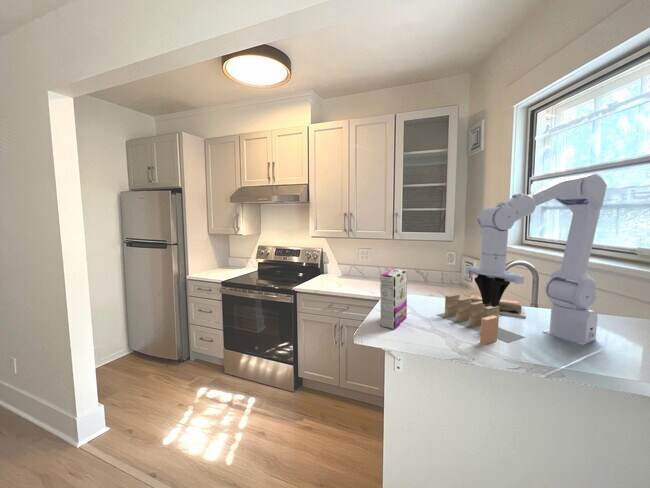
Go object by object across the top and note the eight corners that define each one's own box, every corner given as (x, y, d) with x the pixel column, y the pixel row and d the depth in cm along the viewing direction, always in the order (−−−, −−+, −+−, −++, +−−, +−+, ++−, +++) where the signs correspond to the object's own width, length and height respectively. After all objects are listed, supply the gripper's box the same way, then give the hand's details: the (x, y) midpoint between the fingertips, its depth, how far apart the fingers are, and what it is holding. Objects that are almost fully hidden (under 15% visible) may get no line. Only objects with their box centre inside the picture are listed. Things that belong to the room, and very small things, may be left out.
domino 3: (483, 324, 89) (484, 302, 88) (472, 327, 87) (474, 304, 86) (479, 322, 90) (480, 300, 90) (468, 325, 88) (469, 303, 87)
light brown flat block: (498, 329, 85) (499, 306, 84) (487, 332, 83) (488, 308, 82) (493, 327, 86) (494, 304, 86) (482, 330, 84) (483, 307, 83)
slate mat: (525, 338, 80) (525, 337, 80) (507, 344, 76) (507, 343, 76) (452, 312, 101) (452, 311, 101) (435, 316, 98) (435, 314, 98)
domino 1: (458, 315, 97) (459, 294, 96) (448, 317, 95) (449, 296, 94) (455, 313, 98) (455, 293, 98) (444, 316, 96) (445, 295, 95)
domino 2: (470, 319, 93) (471, 298, 92) (460, 322, 91) (461, 300, 90) (466, 318, 94) (467, 297, 94) (456, 320, 92) (457, 299, 91)
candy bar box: (392, 315, 98) (393, 268, 96) (406, 318, 95) (408, 269, 94) (379, 326, 89) (379, 274, 87) (394, 330, 86) (395, 276, 84)
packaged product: (465, 298, 102) (468, 292, 111) (464, 311, 103) (467, 304, 111) (527, 306, 93) (525, 298, 102) (526, 321, 94) (524, 312, 102)
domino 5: (496, 342, 78) (498, 316, 77) (484, 346, 76) (486, 320, 75) (491, 340, 79) (493, 315, 78) (479, 343, 77) (481, 318, 76)
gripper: (458, 251, 79) (456, 299, 81) (512, 258, 67) (509, 316, 68) (475, 250, 83) (473, 296, 84) (530, 256, 70) (526, 311, 71)
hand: (490, 305), depth 76 cm, fingers closed
